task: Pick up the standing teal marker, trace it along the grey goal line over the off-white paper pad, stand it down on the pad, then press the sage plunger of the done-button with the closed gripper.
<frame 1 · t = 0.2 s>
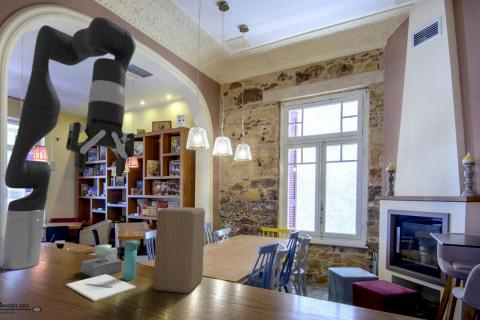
hand: (101, 172, 59), 28 cm above the table, fingers open, 8 cm apart
marker: (129, 278, 72), on the table
button housing: (101, 271, 77), on the table
wooden block: (178, 286, 67), on the table
button: (102, 255, 77), point 5 cm above the table, slide at 0.0 cm
pad: (100, 286, 65), on the table
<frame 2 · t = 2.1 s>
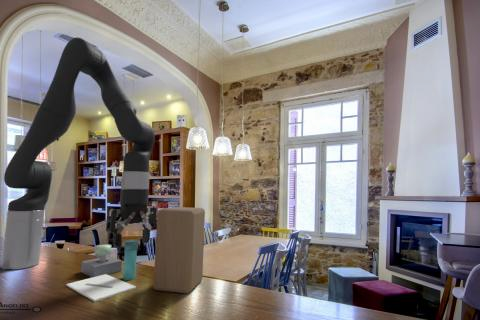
hand: (131, 245, 73), 9 cm above the table, fingers open, 8 cm apart
nothing on the table moved.
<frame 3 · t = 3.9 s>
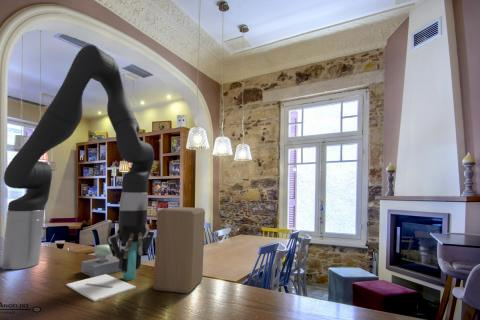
hand: (129, 270, 72), 2 cm above the table, fingers closed on marker, 3 cm apart
marker: (129, 278, 72), on the table, touching gripper
everything else where it was.
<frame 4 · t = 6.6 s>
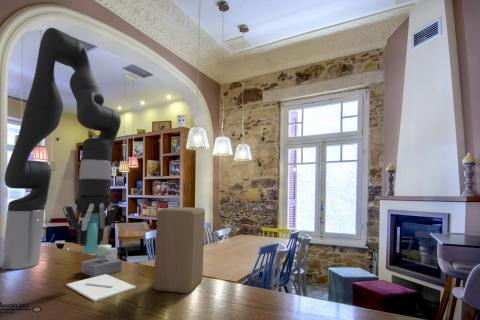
hand: (90, 243, 66), 10 cm above the table, fingers closed on marker, 3 cm apart
marker: (89, 252, 66), point 8 cm above the table, touching gripper
everything else where it was.
when the fingers open (3 cm above the table, at t = 9.2 s): marker stays where it is, resting on pad.
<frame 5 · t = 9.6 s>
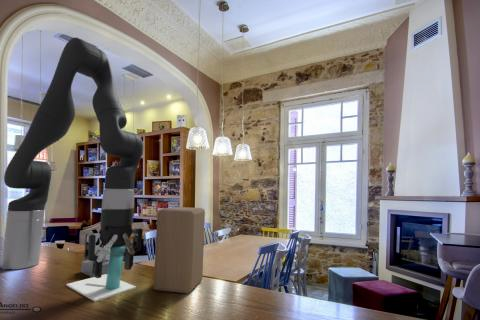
hand: (113, 273, 64), 4 cm above the table, fingers open, 7 cm apart
marker: (112, 286, 64), point 1 cm above the table, touching pad
everything else where it was.
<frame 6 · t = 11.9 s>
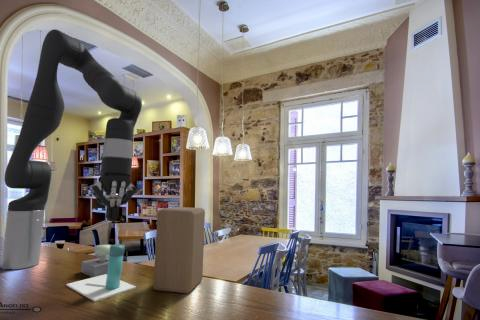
hand: (111, 220, 69), 16 cm above the table, fingers closed
nothing on the table moved.
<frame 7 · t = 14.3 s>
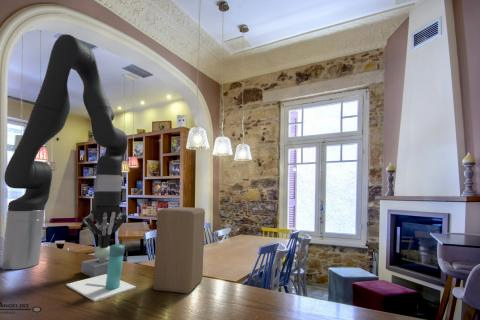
hand: (103, 247, 77), 7 cm above the table, fingers closed
button: (102, 257, 77), point 4 cm above the table, slide at 0.4 cm, touching gripper
everything else where it was.
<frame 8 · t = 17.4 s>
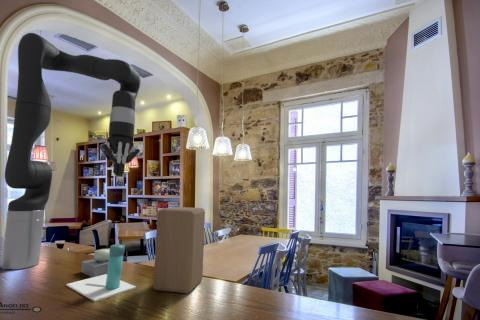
hand: (118, 175, 82), 29 cm above the table, fingers closed
button: (102, 260, 77), point 3 cm above the table, slide at 1.3 cm
everything else where it was.
at the end: marker inside the target area on the pad (3.8 cm from its centre), point 0.5 cm above the pad's base; marker tilted 3°; button slide at 1.3 cm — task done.
